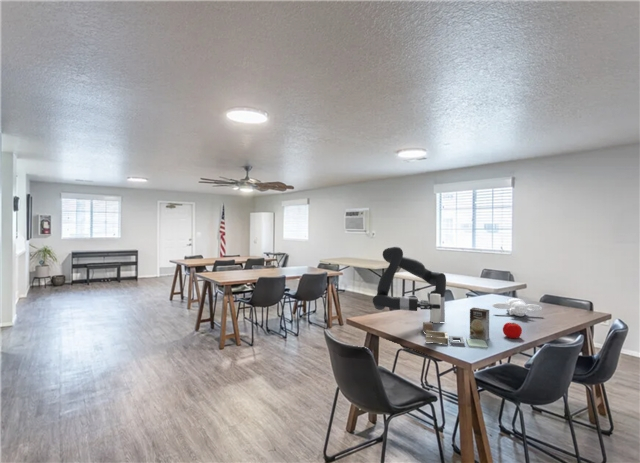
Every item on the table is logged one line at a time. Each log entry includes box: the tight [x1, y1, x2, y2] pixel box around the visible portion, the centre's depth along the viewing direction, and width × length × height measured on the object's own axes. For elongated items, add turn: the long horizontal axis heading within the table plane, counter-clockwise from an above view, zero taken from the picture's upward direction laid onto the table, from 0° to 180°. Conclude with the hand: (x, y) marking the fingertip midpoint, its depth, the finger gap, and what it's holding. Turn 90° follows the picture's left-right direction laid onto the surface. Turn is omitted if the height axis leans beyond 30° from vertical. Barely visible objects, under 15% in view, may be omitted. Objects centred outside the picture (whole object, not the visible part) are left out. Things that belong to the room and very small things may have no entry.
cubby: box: [425, 330, 449, 345], centre depth 192 cm, size 12×11×4 cm
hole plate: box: [448, 335, 466, 347], centre depth 189 cm, size 12×7×2 cm, turn 163°
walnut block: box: [422, 321, 434, 333], centre depth 207 cm, size 4×4×6 cm
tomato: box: [502, 322, 523, 339], centre depth 198 cm, size 9×10×8 cm
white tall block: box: [429, 293, 441, 324], centre depth 192 cm, size 6×6×15 cm
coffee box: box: [469, 307, 490, 341], centre depth 198 cm, size 9×6×16 cm
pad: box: [466, 338, 489, 349], centre depth 186 cm, size 12×9×1 cm
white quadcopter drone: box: [492, 297, 543, 317], centre depth 253 cm, size 24×30×11 cm
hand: (440, 305), depth 192 cm, fingers closed on white tall block, 5 cm apart
